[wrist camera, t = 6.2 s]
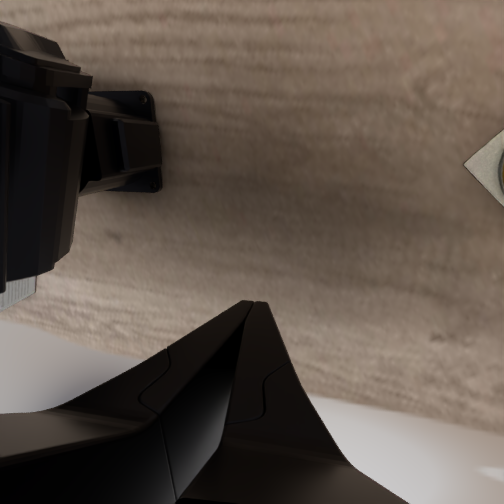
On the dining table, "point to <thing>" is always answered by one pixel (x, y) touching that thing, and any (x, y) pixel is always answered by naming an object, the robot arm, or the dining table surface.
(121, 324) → the dining table surface
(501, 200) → the condiment
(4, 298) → the skincare box
